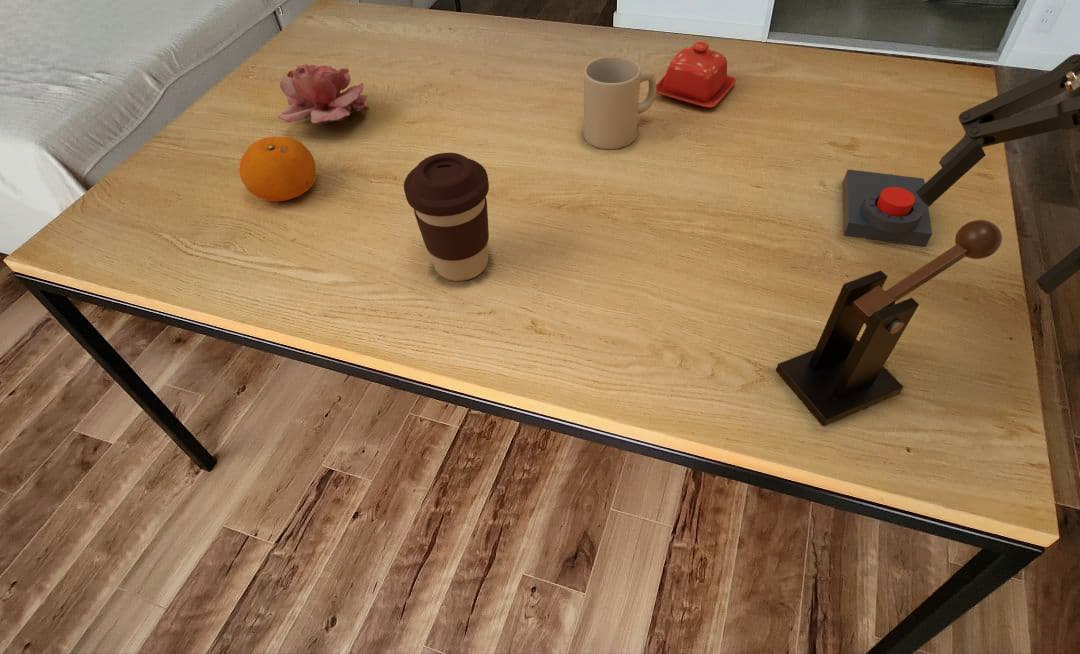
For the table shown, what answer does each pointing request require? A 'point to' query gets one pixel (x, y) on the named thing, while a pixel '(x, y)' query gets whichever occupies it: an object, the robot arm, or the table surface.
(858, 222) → the button block
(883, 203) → the button
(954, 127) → the table surface
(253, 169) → the fruit
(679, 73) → the butter dish
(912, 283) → the lever
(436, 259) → the coffee cup
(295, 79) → the flower
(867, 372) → the bracket
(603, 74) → the mug
